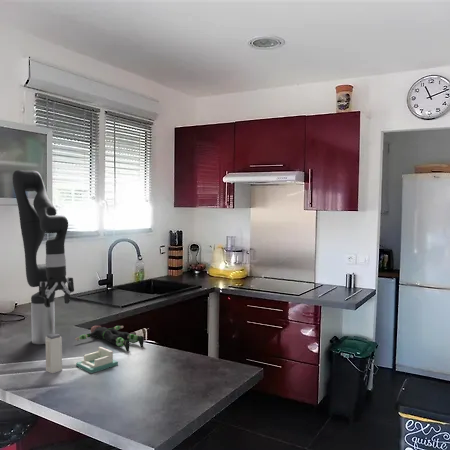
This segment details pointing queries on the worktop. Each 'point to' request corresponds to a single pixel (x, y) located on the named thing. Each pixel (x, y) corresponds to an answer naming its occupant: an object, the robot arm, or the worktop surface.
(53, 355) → the cream rectangular block
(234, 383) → the worktop surface
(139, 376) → the worktop surface
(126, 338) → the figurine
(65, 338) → the worktop surface
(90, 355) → the green base socket
